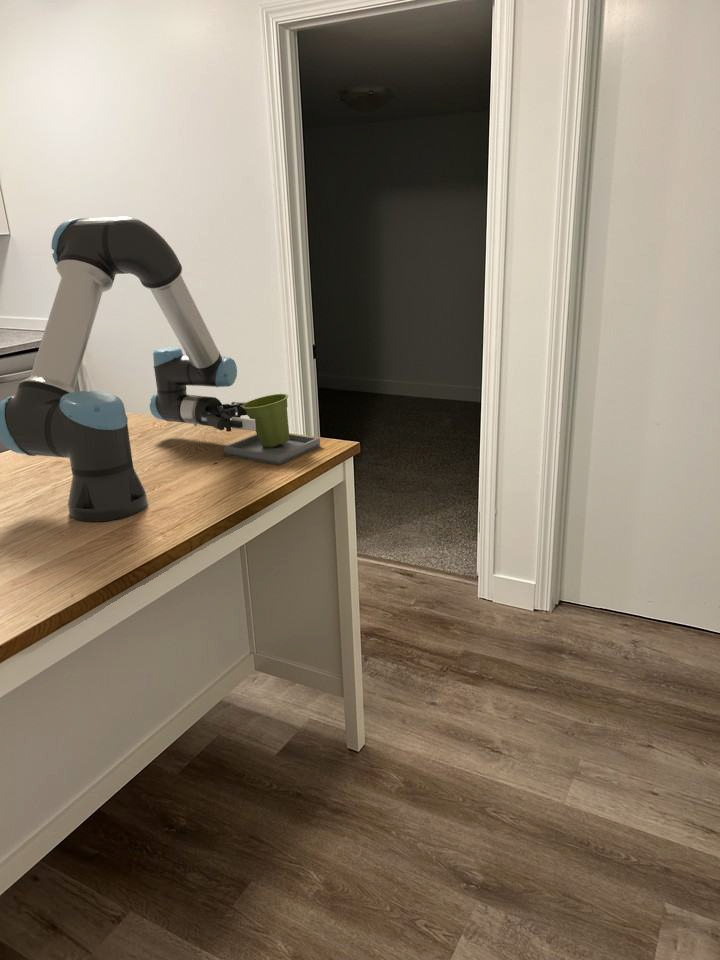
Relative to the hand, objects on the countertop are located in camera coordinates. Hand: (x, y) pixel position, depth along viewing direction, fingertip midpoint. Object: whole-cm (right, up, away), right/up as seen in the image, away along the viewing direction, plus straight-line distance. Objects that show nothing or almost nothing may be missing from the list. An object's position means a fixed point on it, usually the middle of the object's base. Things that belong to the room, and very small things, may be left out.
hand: (270, 418), depth 178 cm
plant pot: (+1, -6, +4) cm, 8 cm away
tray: (0, -8, +3) cm, 8 cm away
